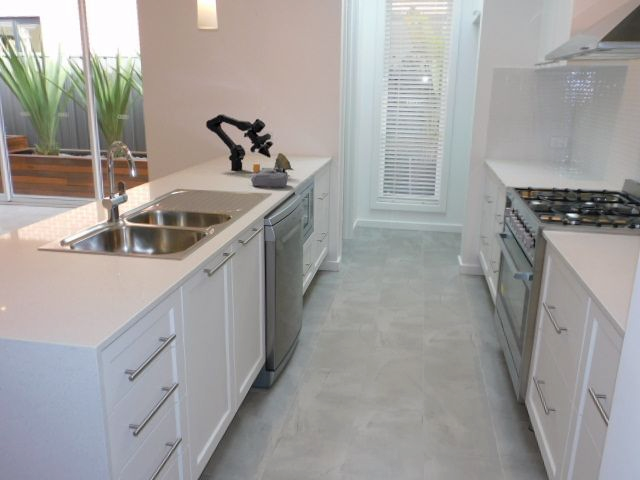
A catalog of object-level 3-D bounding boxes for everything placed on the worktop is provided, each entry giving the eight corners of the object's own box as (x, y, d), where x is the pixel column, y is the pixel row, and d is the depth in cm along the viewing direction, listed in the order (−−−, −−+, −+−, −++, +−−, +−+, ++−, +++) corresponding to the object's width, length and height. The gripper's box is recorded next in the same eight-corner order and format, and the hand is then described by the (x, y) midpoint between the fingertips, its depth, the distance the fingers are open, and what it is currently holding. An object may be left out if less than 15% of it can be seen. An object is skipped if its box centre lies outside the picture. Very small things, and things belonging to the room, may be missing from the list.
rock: (294, 164, 373) (281, 161, 376) (292, 155, 366) (279, 151, 369) (287, 175, 367) (274, 172, 371) (285, 166, 360) (271, 163, 364)
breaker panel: (260, 175, 339) (260, 168, 338) (260, 171, 355) (260, 164, 354) (285, 175, 340) (286, 169, 339) (285, 171, 357) (285, 165, 356)
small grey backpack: (289, 184, 313) (254, 182, 315) (289, 169, 311) (254, 168, 313) (284, 189, 299) (247, 187, 301) (284, 174, 296) (247, 172, 298)
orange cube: (253, 172, 351) (253, 164, 349) (253, 171, 354) (253, 163, 353) (259, 172, 351) (259, 164, 350) (259, 171, 355) (259, 163, 353)
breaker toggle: (278, 171, 342) (275, 159, 341) (281, 171, 344) (277, 158, 344) (281, 171, 341) (277, 158, 340) (283, 170, 344) (279, 158, 343)
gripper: (254, 130, 334) (270, 149, 332) (270, 128, 350) (285, 147, 348) (243, 142, 339) (259, 162, 337) (259, 140, 355) (274, 158, 353)
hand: (270, 157), depth 344 cm, fingers closed
